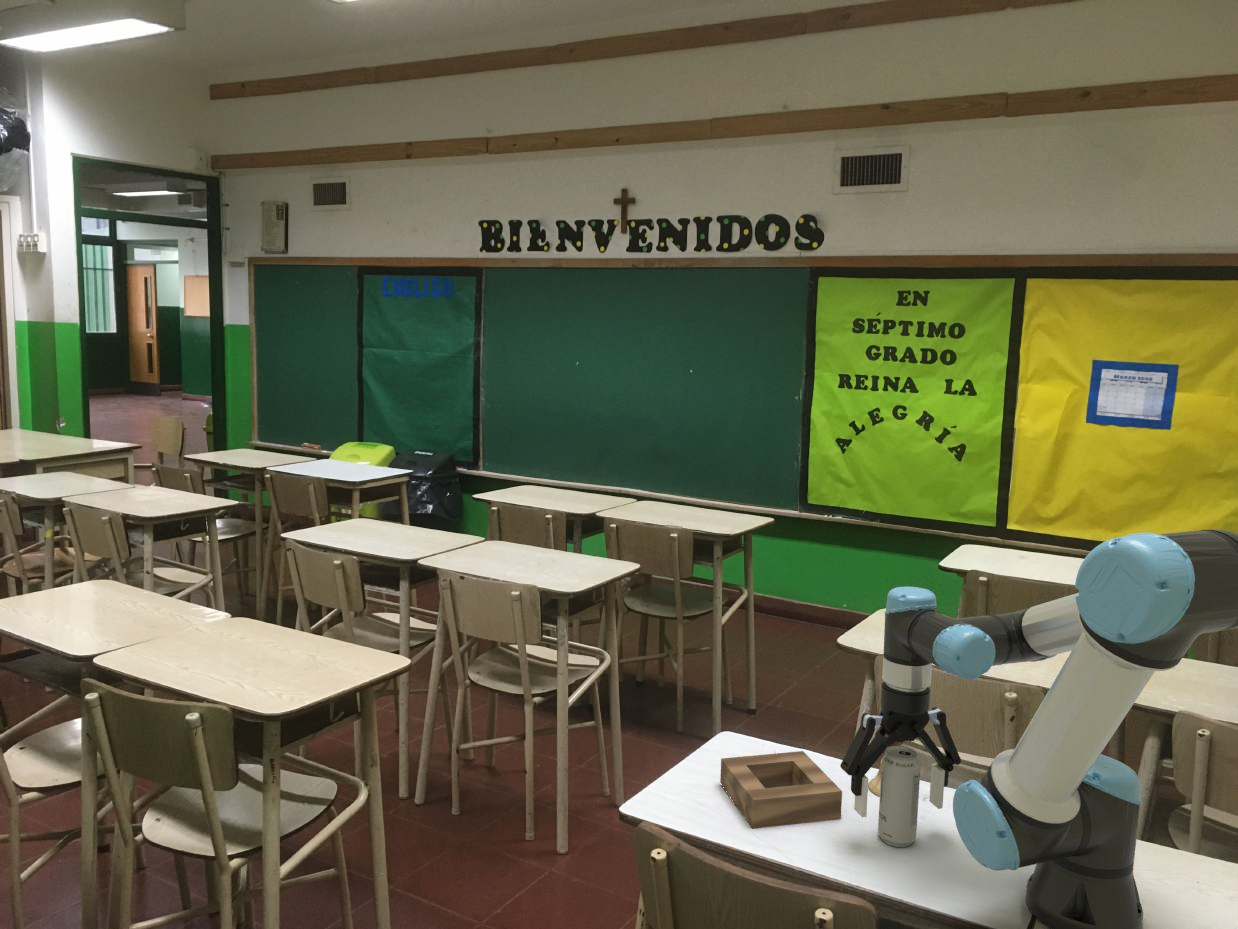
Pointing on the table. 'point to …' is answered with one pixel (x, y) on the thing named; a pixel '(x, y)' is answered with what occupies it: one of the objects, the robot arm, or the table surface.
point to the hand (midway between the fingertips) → (898, 809)
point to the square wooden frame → (780, 789)
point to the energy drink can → (899, 796)
